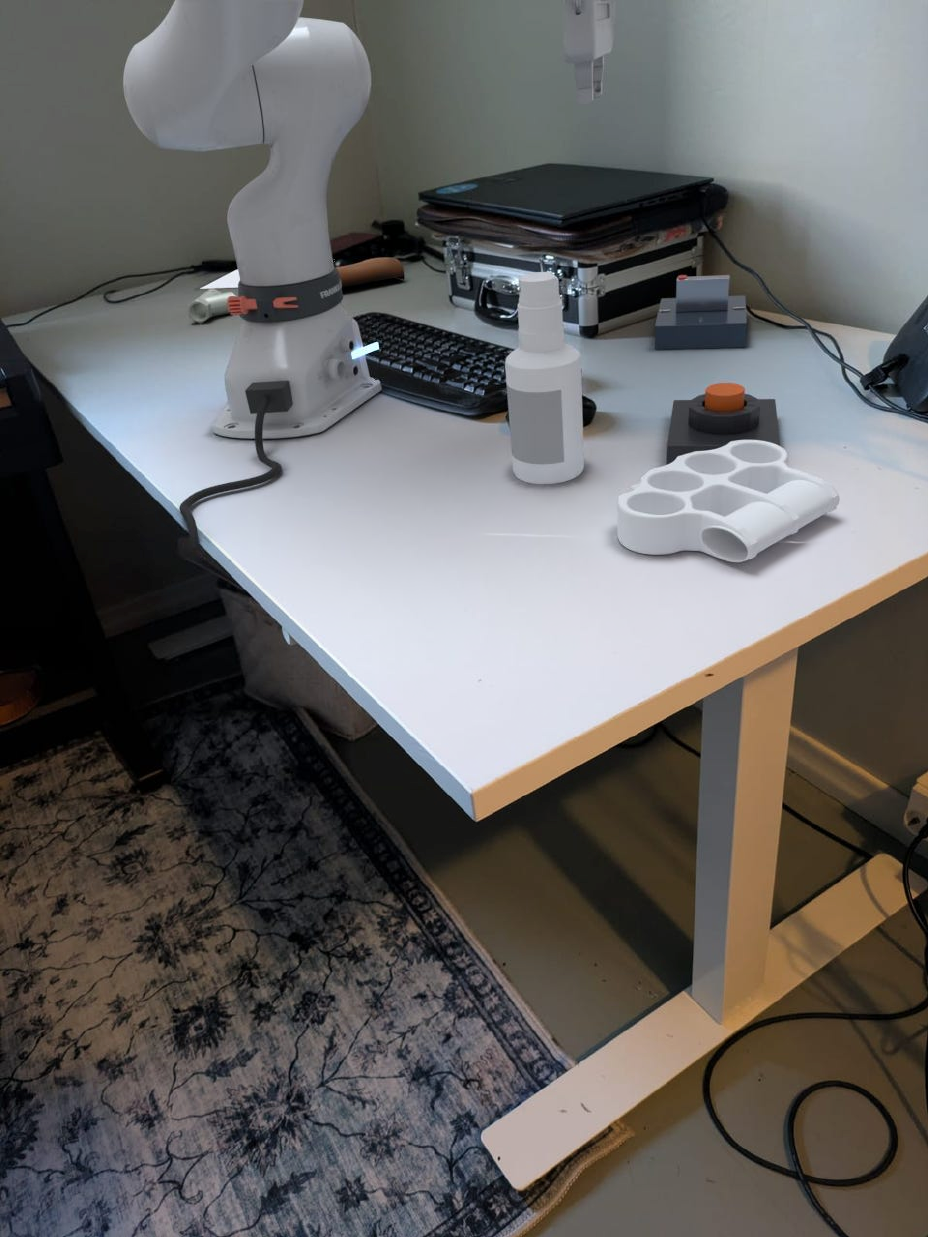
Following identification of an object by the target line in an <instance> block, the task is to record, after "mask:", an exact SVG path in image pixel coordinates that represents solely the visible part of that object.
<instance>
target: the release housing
mask: <svg viewBox="0 0 928 1237" xmlns="http://www.w3.org/2000/svg"><path fill="white" fill-rule="evenodd" d="M777 410H778V409H777V402H776V399H775V398H757V397H755V396H754V395H751V394H749V393H745V396H744V407H743V408H742V409H739V410H734V411H713V410H708V409H706V408H705V393H704V394H699V395H697V396H695V397H694V398H692V399H673V402H672V408H671V415H670V422H669V429H668V436H667V443H666V462H665V465H668V464H670V463H672V462H673V461H674V460H675V459H676V458H677V457H678V456H681V455H685V454H688V453H692V452H695V451H707V450H713V449H717V448H720V447H723V446H725V445H727V444H728V443H729V442H731V441H737V440H760V441H766V442H770V443H774V444H776V445H779V446H781V441H780V440H781V438H780V430H779V421H778V413H777V412H778V411H777Z"/></svg>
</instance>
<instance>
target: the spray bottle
mask: <svg viewBox="0 0 928 1237" xmlns="http://www.w3.org/2000/svg"><path fill="white" fill-rule="evenodd" d="M518 287H519V297H518V303H517V318H518V329H517V332H518V334H517V335H518V347H517V348H515V349H514V350H513V351H511V352H510V353H509V354H508V355H507V356H506V357H505V363H504V368H505V382H506V383H505V384H506V394H507V409H508V410H507V411H508V419H509V421H508V423H509V436H510V445H511V446H510V447H511V459H512V461H511V462H512V472H513V473H514V475H515V476H516V478H517V479H518V480H520V481H522V482H524V483H529V484H532V485H556V484H560V483H566V482H569V481H570V480H574V479H575V478H577V477H579V476H580V475H581V474H582V472H583V471H584V468H585V454H584V420H583V419H584V418H583V390H582V389H583V386H582V385H583V384H582V359H581V358H582V357H581V353H580V351H578V350H577V348H575V347H574V346H572V345H570V344H568V343H566V342H565V325H564V319H563V318H564V317H563V316H564V315H563V300H562V299H561V293H560V286H559V278H558V277H557V276H556V275H555V274H554V273H553V272H552V271H536V272H530V273H526V274H522V275H520V276H519V277H518Z"/></svg>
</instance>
